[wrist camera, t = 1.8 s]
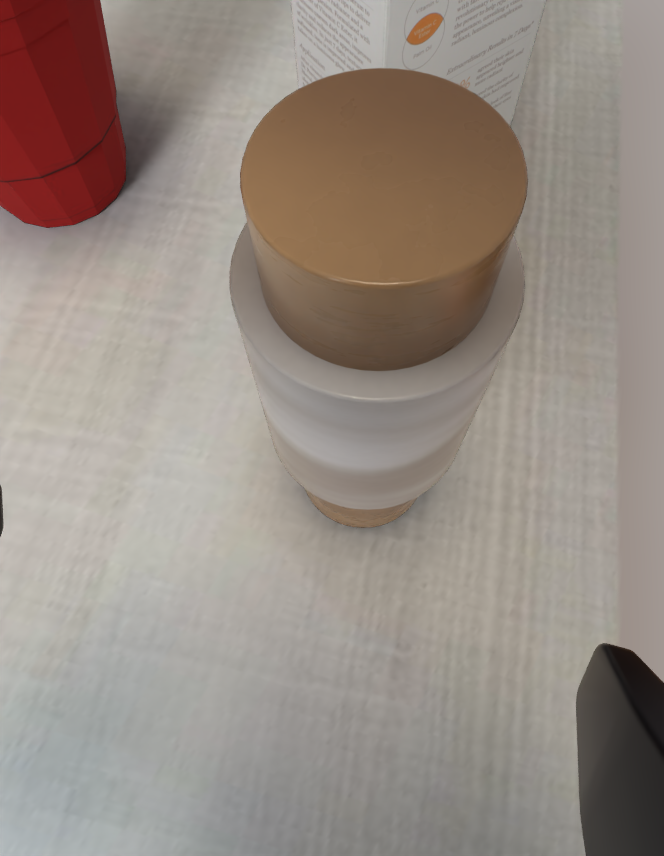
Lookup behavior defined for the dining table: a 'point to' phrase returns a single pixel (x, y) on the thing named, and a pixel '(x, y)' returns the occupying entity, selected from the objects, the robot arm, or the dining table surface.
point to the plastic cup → (57, 113)
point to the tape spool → (377, 280)
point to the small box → (422, 41)
